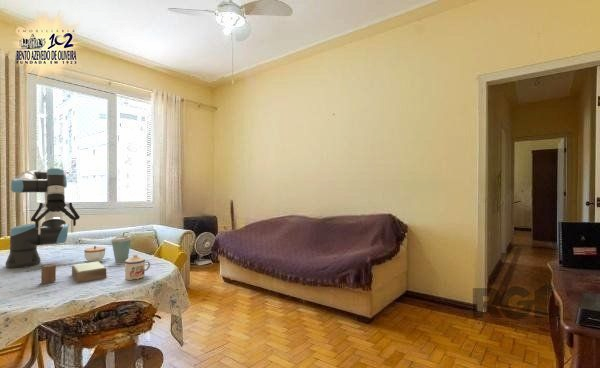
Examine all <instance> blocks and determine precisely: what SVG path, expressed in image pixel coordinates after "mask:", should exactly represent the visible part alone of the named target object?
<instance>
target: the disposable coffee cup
mask: <svg viewBox="0 0 600 368" xmlns="http://www.w3.org/2000/svg"><path fill="white" fill-rule="evenodd" d="M131 241H132V238H131V236H130V235H122V236H120V235H119V236H115V237H113V238H112V239H111V241H110V242H111V245H112V249H113V256H114V261H115V262H116V263H125V261H126V260H127V259H129V255H130V254H129V253H130V248H131Z"/></svg>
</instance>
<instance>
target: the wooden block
mask: <svg viewBox="0 0 600 368" xmlns="http://www.w3.org/2000/svg"><path fill="white" fill-rule="evenodd" d="M40 272H41V280H40V281H41V283H42V284H51V283H53V282H56V279H57V278H56V277H57V276H56V274H57V269H56V264H46V265H42V266H41V271H40Z"/></svg>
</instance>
